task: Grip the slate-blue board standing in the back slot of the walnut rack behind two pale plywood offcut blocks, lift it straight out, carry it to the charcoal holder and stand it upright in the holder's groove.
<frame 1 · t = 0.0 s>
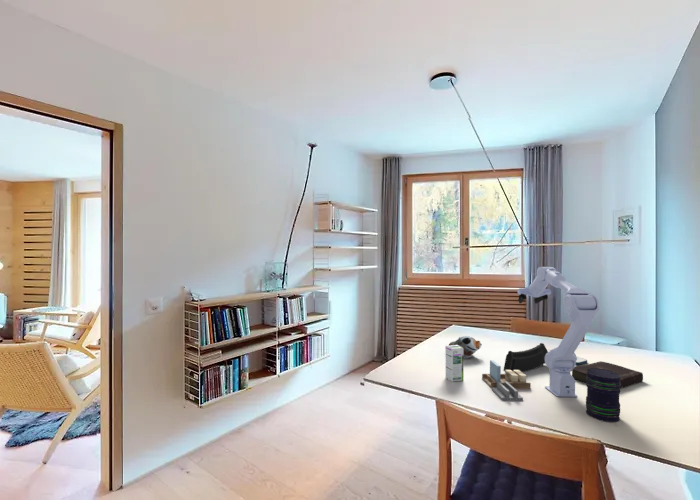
hand: (527, 301, 175), 32 cm above the table, tool tilted 50°, fingers open, 7 cm apart
storage jar: (602, 416, 127), on the table
offcut 2: (519, 381, 156), point 1 cm above the table, touching rack
magazine: (527, 369, 175), on the table
offcut 1: (511, 381, 156), point 1 cm above the table, touching rack
syrup box: (454, 379, 161), on the table
rack: (505, 383, 156), on the table
lucky cat figurine: (464, 356, 195), on the table
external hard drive: (560, 359, 193), on the table
diary: (604, 381, 162), on the table
holder: (506, 395, 144), on the table
tall board: (494, 381, 156), point 1 cm above the table, touching rack
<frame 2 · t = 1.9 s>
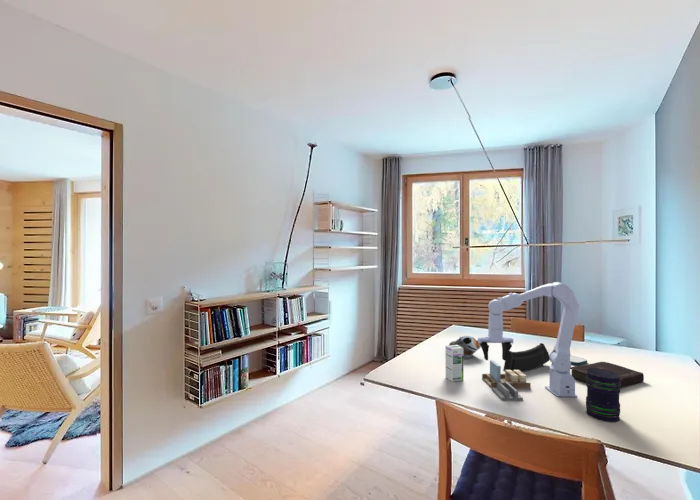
hand: (495, 359, 156), 10 cm above the table, tool pointing down, fingers open, 7 cm apart
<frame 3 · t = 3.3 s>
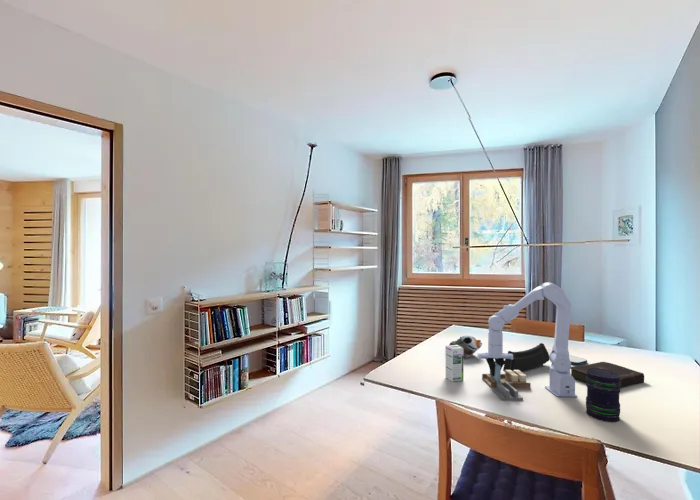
hand: (495, 375, 156), 3 cm above the table, tool pointing down, fingers closed on tall board, 1 cm apart
tall board: (494, 381, 156), point 1 cm above the table, touching gripper, rack
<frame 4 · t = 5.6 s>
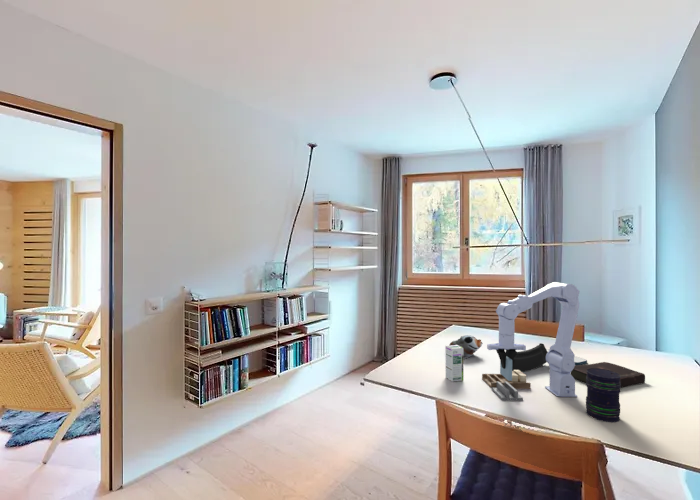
hand: (506, 367, 145), 10 cm above the table, tool pointing down, fingers closed on tall board
tall board: (505, 376, 145), point 7 cm above the table, touching gripper
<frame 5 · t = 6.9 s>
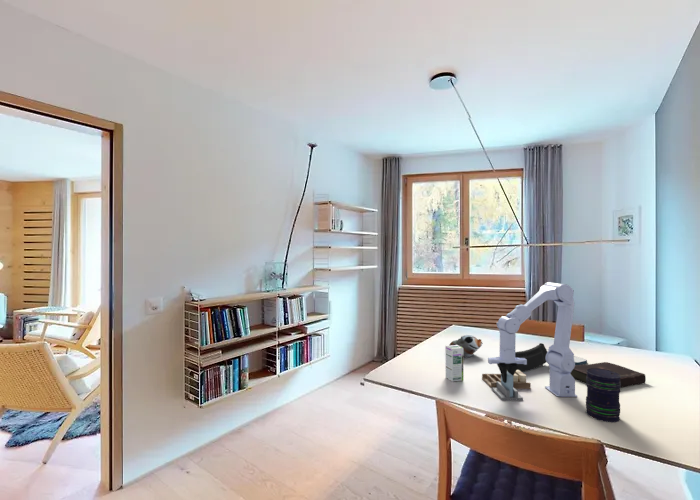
hand: (506, 381, 144), 5 cm above the table, tool pointing down, fingers closed on tall board, 1 cm apart
tall board: (506, 392, 144), point 1 cm above the table, touching gripper, holder
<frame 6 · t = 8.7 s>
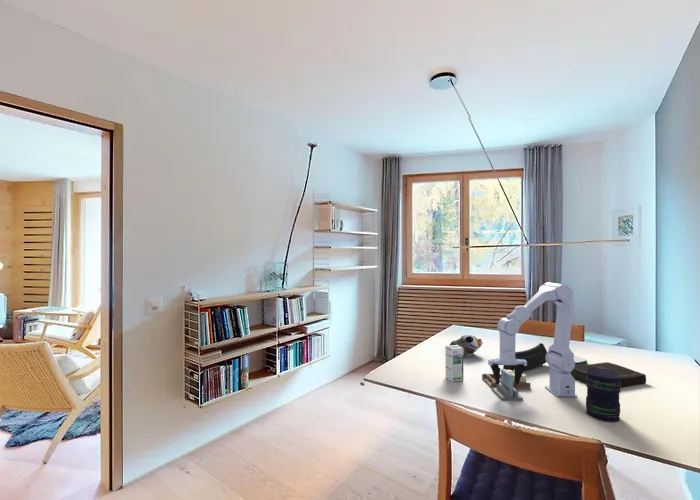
hand: (507, 383, 144), 5 cm above the table, tool pointing down, fingers open, 7 cm apart
tall board: (506, 392, 144), point 1 cm above the table, touching holder
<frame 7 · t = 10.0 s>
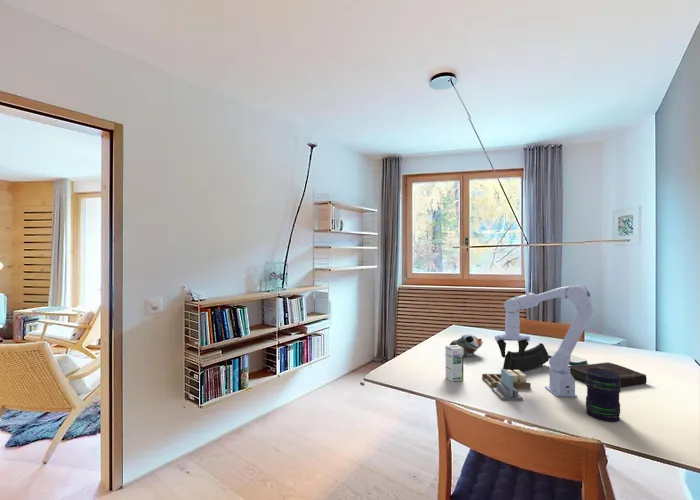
hand: (511, 357, 159), 10 cm above the table, tool pointing down, fingers open, 7 cm apart
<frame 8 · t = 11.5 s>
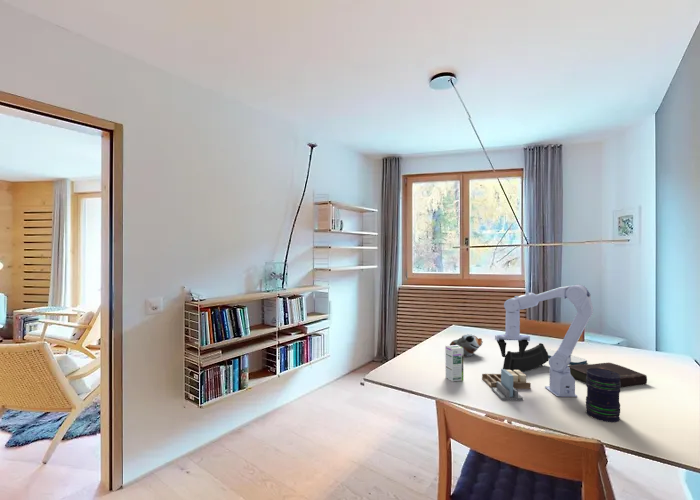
hand: (512, 356, 160), 10 cm above the table, tool pointing down, fingers open, 7 cm apart
at the end: tall board 0.0 cm off-centre on the holder, point 1.0 cm above the holder's base; tall board tilted 0°; the gripper is holding nothing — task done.
